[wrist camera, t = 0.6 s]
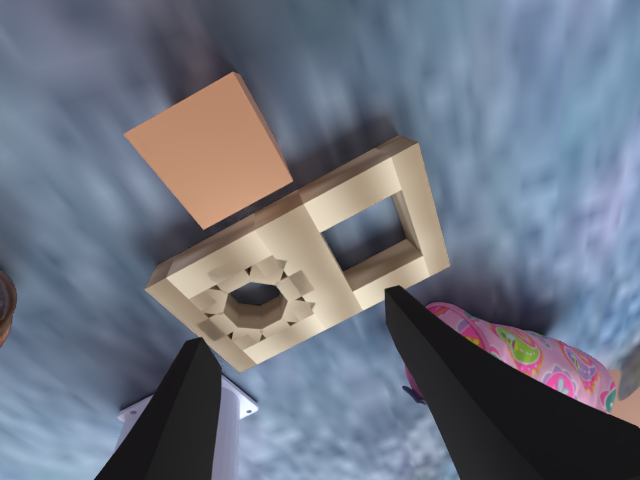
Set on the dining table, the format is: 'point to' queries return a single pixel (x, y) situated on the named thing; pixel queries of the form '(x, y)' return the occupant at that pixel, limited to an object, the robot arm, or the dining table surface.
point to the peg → (213, 151)
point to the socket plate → (304, 259)
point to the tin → (6, 305)
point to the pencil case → (531, 358)
